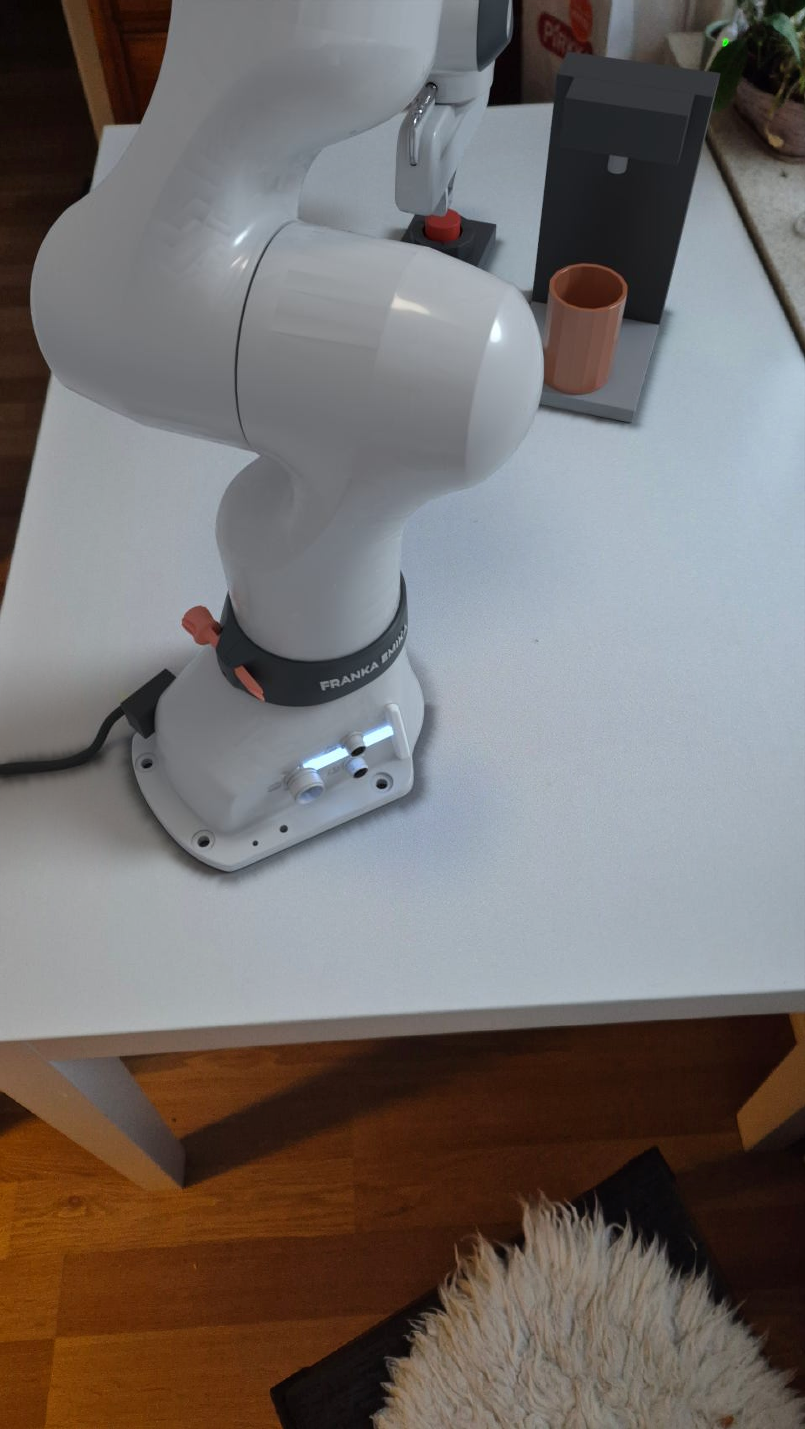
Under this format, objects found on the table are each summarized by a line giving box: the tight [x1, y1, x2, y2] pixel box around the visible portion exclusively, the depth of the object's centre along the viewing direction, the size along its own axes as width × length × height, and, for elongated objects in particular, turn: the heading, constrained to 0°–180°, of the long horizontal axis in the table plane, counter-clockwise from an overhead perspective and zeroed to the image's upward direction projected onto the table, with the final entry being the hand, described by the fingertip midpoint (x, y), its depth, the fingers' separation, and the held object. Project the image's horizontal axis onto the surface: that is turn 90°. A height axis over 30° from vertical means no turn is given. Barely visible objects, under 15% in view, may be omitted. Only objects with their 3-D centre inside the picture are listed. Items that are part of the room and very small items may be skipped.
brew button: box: [425, 208, 460, 242], centre depth 104 cm, size 4×4×2 cm
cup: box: [542, 263, 627, 395], centre depth 93 cm, size 7×7×9 cm
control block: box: [399, 214, 498, 270], centre depth 106 cm, size 11×9×4 cm
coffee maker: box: [529, 51, 721, 424], centre depth 90 cm, size 17×13×23 cm
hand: (441, 208), depth 102 cm, fingers closed
